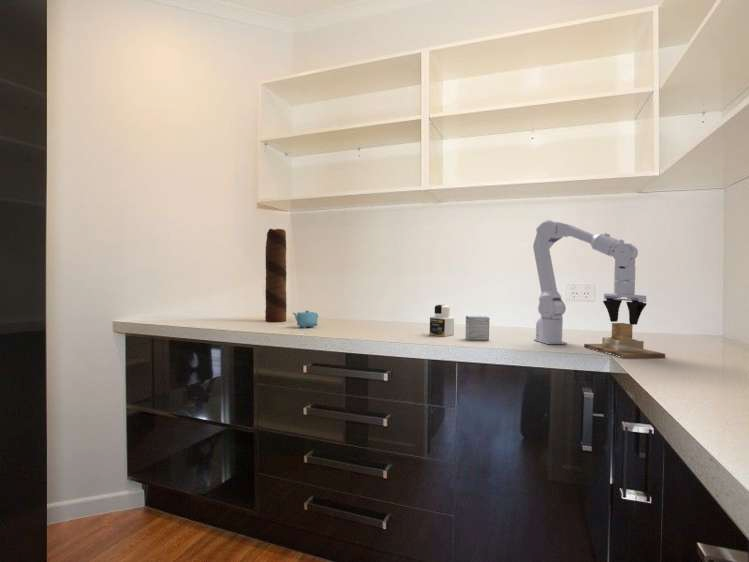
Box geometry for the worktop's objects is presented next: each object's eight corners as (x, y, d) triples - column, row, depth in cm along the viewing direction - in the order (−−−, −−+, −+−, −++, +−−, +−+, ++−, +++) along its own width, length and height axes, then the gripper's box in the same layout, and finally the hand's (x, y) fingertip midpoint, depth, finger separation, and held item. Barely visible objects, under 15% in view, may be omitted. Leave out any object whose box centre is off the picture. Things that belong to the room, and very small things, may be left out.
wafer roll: (266, 322, 192) (267, 227, 191) (263, 320, 202) (264, 230, 201) (288, 322, 196) (289, 229, 195) (284, 319, 206) (285, 231, 205)
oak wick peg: (611, 347, 132) (611, 323, 132) (621, 347, 133) (622, 322, 133) (621, 349, 128) (621, 324, 128) (631, 349, 129) (632, 324, 129)
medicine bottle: (429, 334, 163) (429, 304, 162) (439, 333, 168) (439, 304, 168) (444, 336, 158) (444, 306, 158) (454, 334, 163) (454, 305, 163)
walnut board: (584, 347, 138) (584, 335, 138) (621, 347, 140) (621, 334, 140) (623, 358, 121) (623, 344, 121) (665, 357, 123) (665, 343, 122)
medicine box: (485, 338, 155) (486, 316, 154) (489, 340, 150) (489, 317, 150) (465, 338, 154) (465, 315, 154) (468, 340, 150) (468, 317, 150)
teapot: (293, 329, 173) (293, 311, 173) (289, 327, 178) (289, 310, 178) (320, 327, 178) (320, 310, 178) (315, 326, 184) (315, 309, 184)
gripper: (596, 280, 137) (595, 320, 137) (633, 281, 122) (632, 326, 123) (614, 280, 138) (613, 320, 138) (652, 281, 124) (651, 325, 124)
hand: (623, 323), depth 131 cm, fingers open, 7 cm apart
